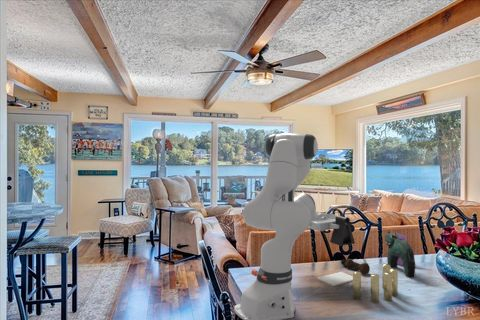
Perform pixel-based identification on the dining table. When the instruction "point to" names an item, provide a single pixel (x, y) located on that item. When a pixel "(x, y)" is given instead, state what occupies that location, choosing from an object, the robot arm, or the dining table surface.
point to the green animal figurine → (400, 253)
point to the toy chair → (406, 240)
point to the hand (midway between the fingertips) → (342, 226)
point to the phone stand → (342, 232)
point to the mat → (336, 278)
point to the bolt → (356, 266)
